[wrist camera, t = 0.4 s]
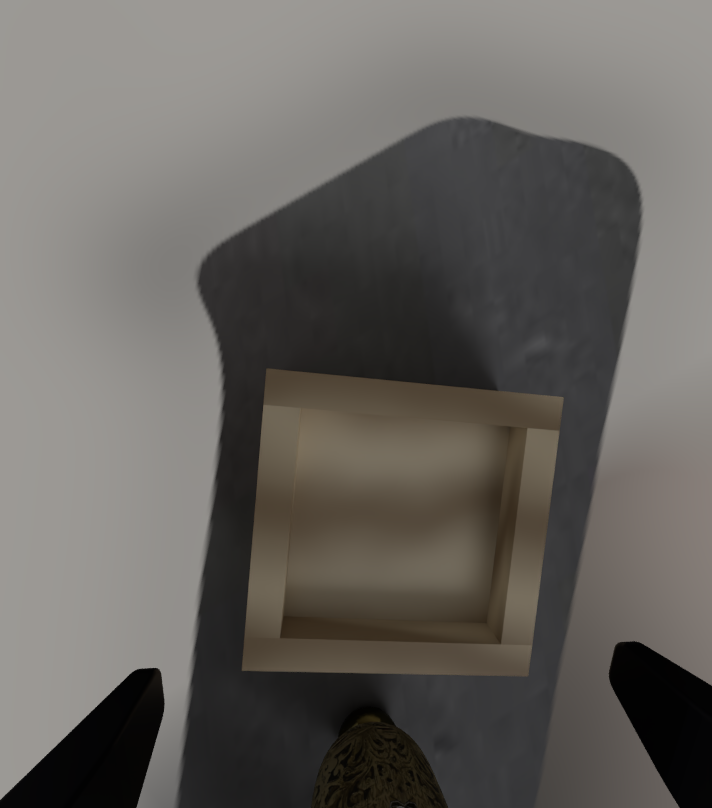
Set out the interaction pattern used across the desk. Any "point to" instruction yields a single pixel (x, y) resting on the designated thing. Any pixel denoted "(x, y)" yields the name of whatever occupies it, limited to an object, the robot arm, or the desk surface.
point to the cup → (375, 767)
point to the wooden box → (398, 527)
